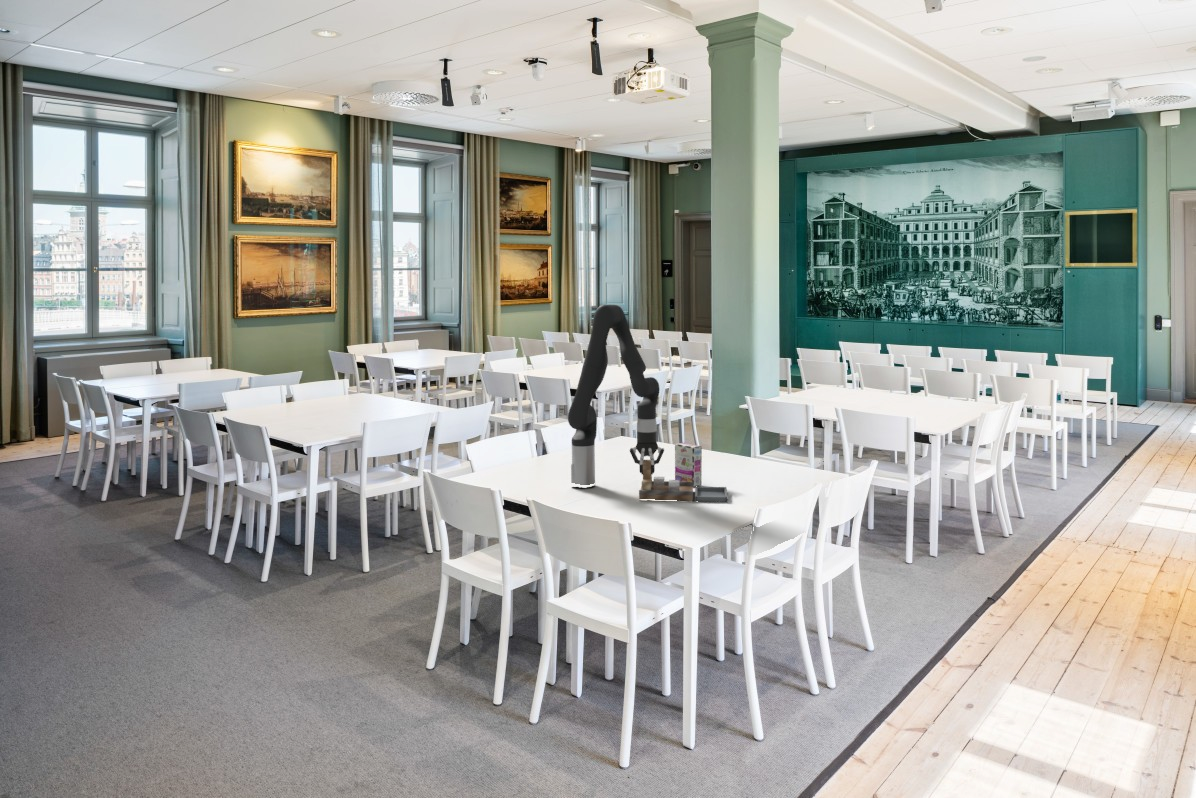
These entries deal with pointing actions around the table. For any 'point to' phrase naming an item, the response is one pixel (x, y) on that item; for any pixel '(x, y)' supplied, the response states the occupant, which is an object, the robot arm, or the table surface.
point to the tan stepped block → (647, 475)
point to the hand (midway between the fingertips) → (647, 473)
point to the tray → (711, 494)
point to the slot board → (669, 492)
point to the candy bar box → (688, 463)
